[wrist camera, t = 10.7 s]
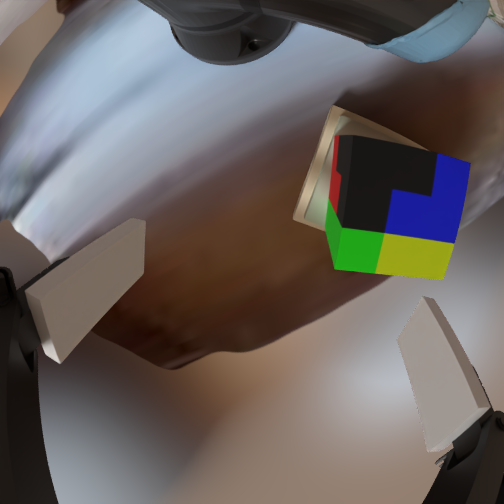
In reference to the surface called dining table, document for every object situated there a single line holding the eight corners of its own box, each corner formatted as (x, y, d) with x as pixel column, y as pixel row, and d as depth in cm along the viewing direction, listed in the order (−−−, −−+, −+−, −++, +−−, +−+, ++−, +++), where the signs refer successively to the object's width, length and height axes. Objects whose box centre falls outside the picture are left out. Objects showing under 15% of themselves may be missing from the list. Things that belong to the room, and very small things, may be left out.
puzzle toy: (421, 152, 24) (470, 163, 15) (407, 238, 28) (443, 280, 19) (334, 135, 26) (353, 134, 17) (324, 227, 30) (334, 269, 21)
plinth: (330, 107, 29) (335, 103, 24) (429, 154, 28) (446, 158, 24) (293, 212, 35) (292, 224, 30) (389, 249, 34) (400, 265, 30)
